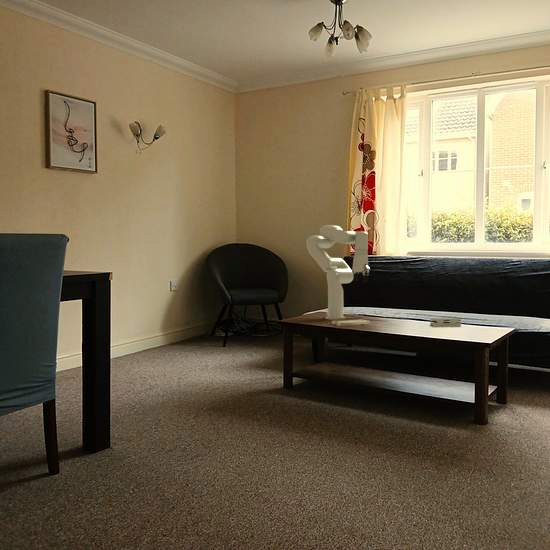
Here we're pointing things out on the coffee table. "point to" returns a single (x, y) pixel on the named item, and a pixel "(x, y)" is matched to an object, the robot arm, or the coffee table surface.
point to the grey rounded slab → (440, 322)
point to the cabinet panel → (349, 321)
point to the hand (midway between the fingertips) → (360, 281)
